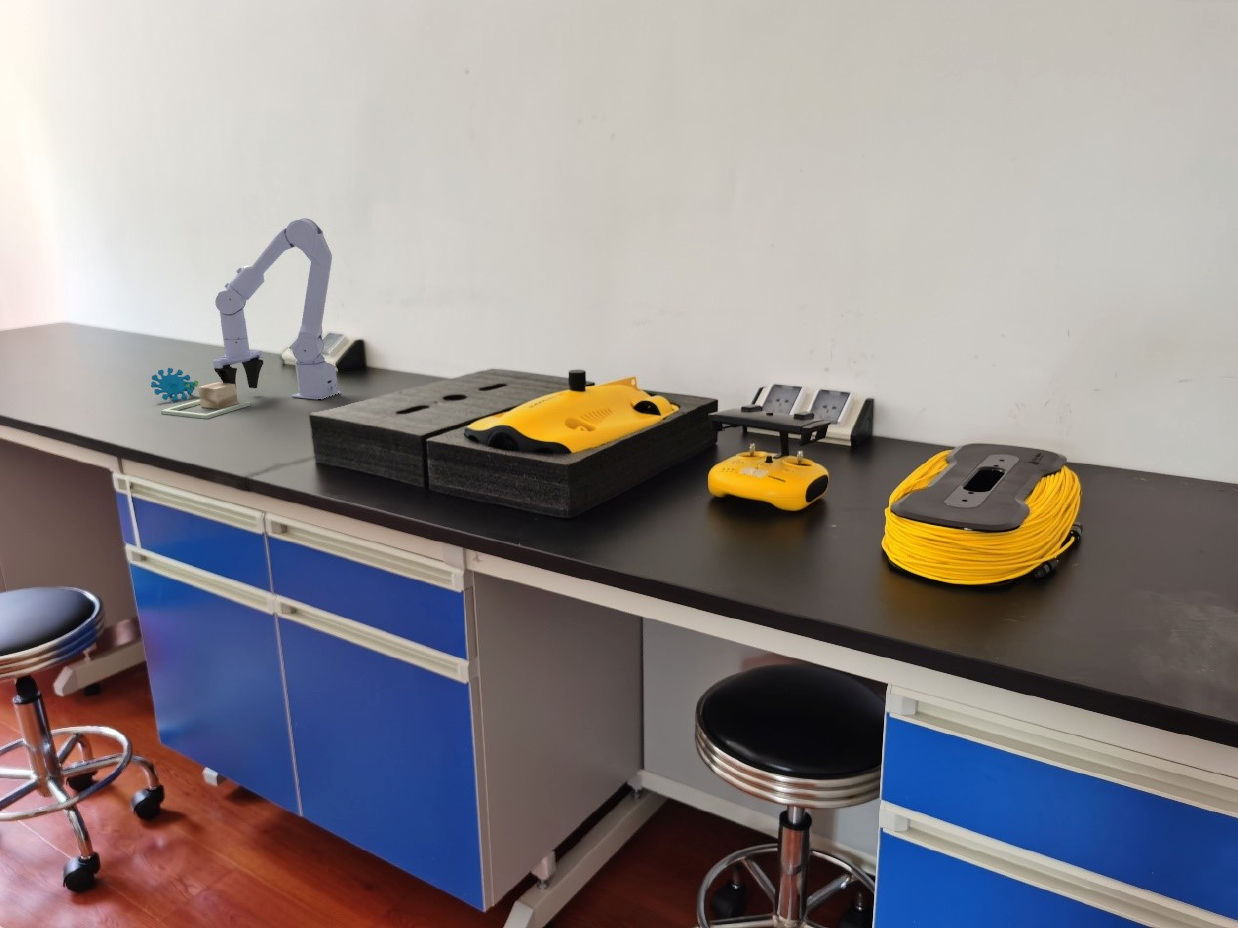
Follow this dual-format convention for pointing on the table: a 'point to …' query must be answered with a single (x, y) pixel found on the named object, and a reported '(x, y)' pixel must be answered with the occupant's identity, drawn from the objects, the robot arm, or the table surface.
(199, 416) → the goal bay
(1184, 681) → the table surface
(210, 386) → the block
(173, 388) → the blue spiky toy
